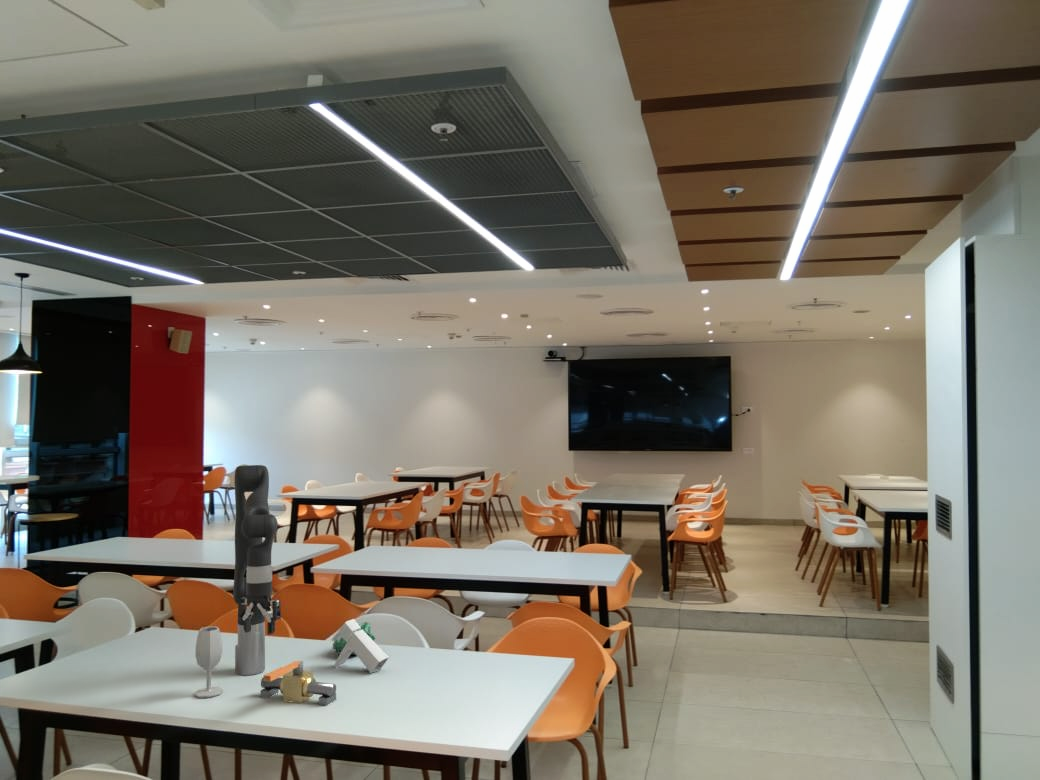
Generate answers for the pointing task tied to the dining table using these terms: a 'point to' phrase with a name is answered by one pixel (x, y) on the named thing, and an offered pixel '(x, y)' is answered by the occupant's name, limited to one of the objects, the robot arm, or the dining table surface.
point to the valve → (299, 688)
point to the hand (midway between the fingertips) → (259, 633)
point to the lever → (285, 670)
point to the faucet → (360, 647)
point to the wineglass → (208, 657)
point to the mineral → (341, 642)
